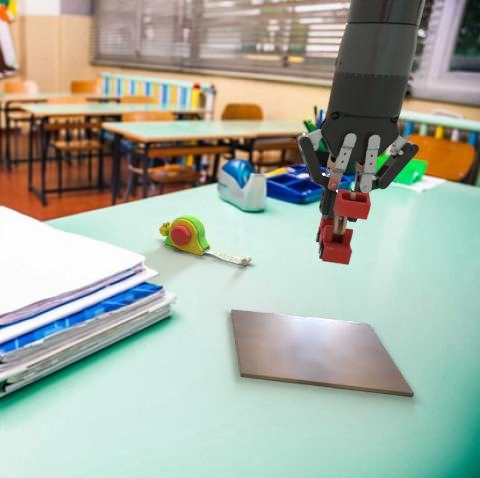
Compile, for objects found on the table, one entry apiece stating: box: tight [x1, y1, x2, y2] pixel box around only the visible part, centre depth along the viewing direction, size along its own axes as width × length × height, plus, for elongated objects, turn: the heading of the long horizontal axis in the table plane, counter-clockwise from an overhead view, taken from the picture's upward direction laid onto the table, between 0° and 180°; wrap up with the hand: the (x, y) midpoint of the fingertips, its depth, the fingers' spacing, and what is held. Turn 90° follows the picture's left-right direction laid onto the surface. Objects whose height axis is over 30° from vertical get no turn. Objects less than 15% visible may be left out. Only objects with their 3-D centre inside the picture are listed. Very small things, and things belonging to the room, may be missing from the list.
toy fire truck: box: [315, 188, 372, 266], centre depth 60 cm, size 3×14×10 cm, turn 163°
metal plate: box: [230, 308, 415, 397], centre depth 66 cm, size 20×16×1 cm
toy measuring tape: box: [159, 214, 253, 266], centre depth 95 cm, size 6×20×7 cm, turn 55°
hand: (339, 218), depth 60 cm, fingers closed on toy fire truck, 2 cm apart
